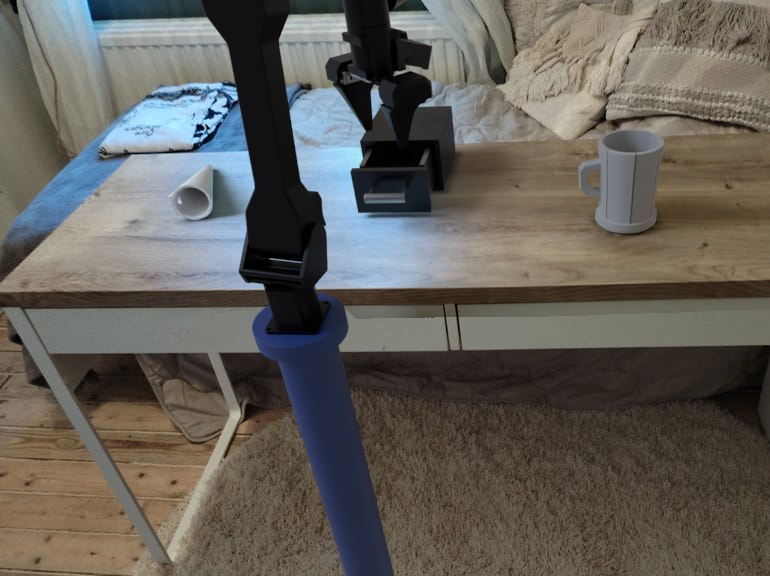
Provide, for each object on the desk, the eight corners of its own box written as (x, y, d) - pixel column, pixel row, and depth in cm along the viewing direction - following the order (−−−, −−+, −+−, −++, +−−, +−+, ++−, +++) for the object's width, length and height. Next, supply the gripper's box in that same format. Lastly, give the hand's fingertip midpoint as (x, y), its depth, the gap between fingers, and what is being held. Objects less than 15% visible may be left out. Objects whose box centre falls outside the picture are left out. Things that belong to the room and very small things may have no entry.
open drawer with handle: (426, 226, 104) (421, 183, 99) (351, 226, 105) (342, 184, 101) (443, 174, 117) (439, 134, 113) (377, 174, 119) (370, 135, 114)
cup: (616, 246, 98) (621, 164, 90) (572, 222, 104) (574, 143, 96) (669, 221, 102) (678, 141, 95) (624, 200, 108) (630, 123, 101)
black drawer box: (444, 190, 115) (438, 139, 109) (368, 191, 116) (359, 141, 111) (455, 153, 126) (451, 105, 120) (386, 155, 127) (379, 107, 122)
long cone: (245, 176, 128) (218, 216, 112) (211, 182, 128) (179, 223, 112) (234, 145, 125) (204, 181, 109) (199, 151, 125) (164, 188, 109)
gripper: (460, 21, 90) (469, 139, 100) (382, 0, 102) (396, 108, 112) (386, 40, 85) (403, 163, 95) (313, 16, 97) (335, 128, 107)
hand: (385, 138), depth 102 cm, fingers open, 9 cm apart
